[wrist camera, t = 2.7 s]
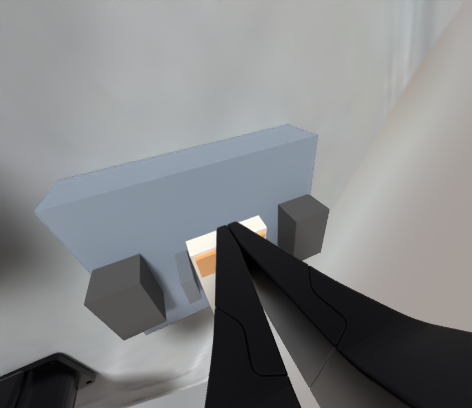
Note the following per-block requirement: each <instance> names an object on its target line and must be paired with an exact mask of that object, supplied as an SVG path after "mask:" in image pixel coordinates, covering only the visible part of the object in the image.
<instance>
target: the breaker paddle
mask: <svg viewBox="0 0 472 408" xmlns="http://www.w3.org/2000/svg"><path fill="white" fill-rule="evenodd" d="M239 223H240V224H242V225H244V226H245V227H247V228H249V229H250V230H252V231H254V232H255V233H257V234H259V235H260V236H262V237H264V238H265V239H266V232H267V227H266V225H265V224H264V222H263V221H262V220H261V218H260V217H259V215H258V216H255V217H252V218H250V219H247V220H244V221H241V222H239ZM186 245H187V248H188V252H189V255H190V258H191V261H192V263H193V265H194V268H195V270H196V273H197V275H198V277H199V280H200V282H201V285H202V287H203V289H204V292H205V294H206V297H207V299H208V301H209V304H210V306H211V309H212V311H213V313H214V310H215V270H216V231H213V232H211V233H208V234H205V235H202V236H200V237H197V238H194V239H191V240H188V241H186Z"/></svg>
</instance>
